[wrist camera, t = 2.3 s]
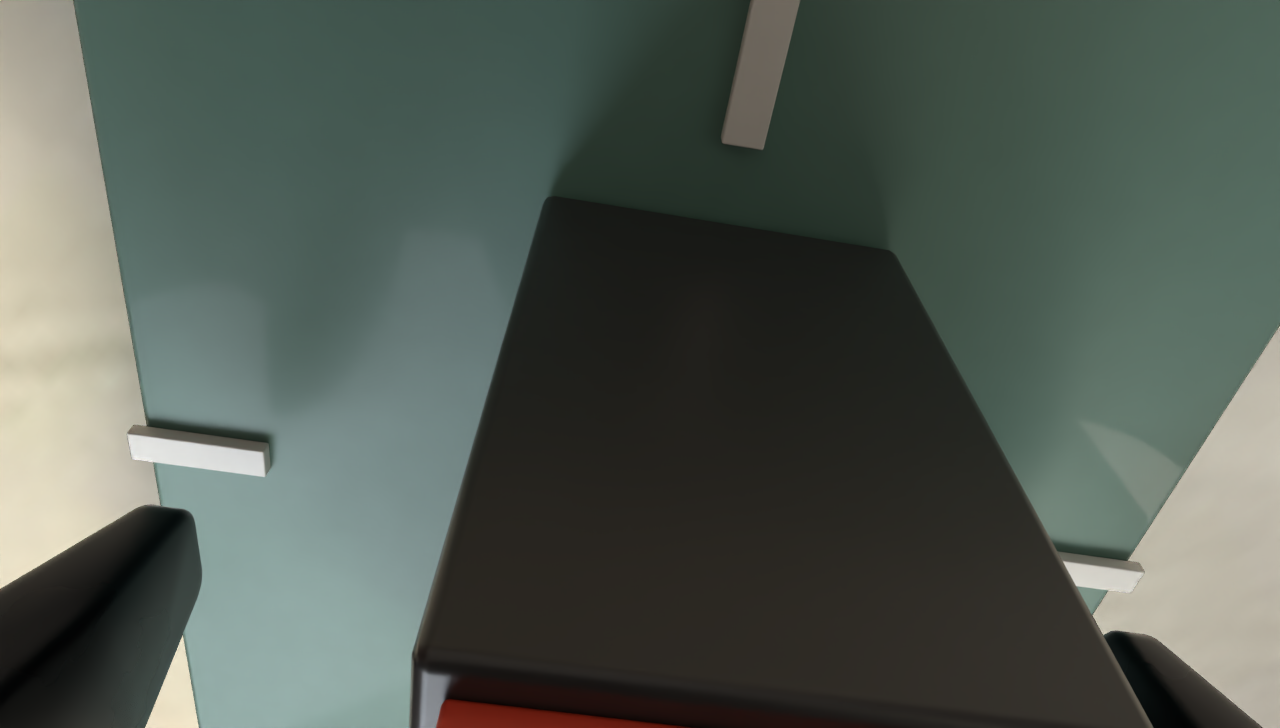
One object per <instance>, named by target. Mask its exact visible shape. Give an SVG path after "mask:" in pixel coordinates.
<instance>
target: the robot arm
mask: <svg viewBox="0 0 1280 728" xmlns="http://www.w3.org/2000/svg"><path fill="white" fill-rule="evenodd" d="M201 583H202V565H201V558H200V552H199V545H198V538H197V531H196V525H195V520H194V517H193V515H192V514H191V513H190V512H189V511H187V510H185V509H181V508H173V507H165V506H157V505H144V506H141V507H138V508H136V509H134V510H133V511H131V512H129V513H128V514H126V515H124V516H123V517H121V518H119V519H117V520H116V521H114V522H112V523H111V524H109V525H107V526H106V527H104V528H102V529H101V530H99V531H97V532H96V533H94V534H92V535H90V536H89V537H87V538H85V539H84V540H82V541H80V542H79V543H77V544H75V545H74V546H72V547H70V548H69V549H67V550H65V551H64V552H62V553H60V554H58V555H57V556H55V557H53V558H52V559H50V560H48V561H47V562H45V563H43V564H42V565H40V566H38V567H37V568H35V569H33V570H31V571H30V572H28V573H26V574H25V575H23V576H21V577H20V578H18V579H16V580H15V581H13V582H11V583H10V584H8V585H6V586H4V587H3V588H1V589H0V728H145V726H146V724H147V721H148V719H149V717H150V714H151V712H152V709H153V707H154V704H155V702H156V699H157V697H158V694H159V692H160V689H161V687H162V684H163V682H164V679H165V677H166V675H167V672H168V670H169V667H170V665H171V662H172V660H173V657H174V655H175V652H176V650H177V647H178V645H179V642H180V640H181V637H182V635H183V632H184V630H185V628H186V625H187V623H188V620H189V618H190V615H191V613H192V610H193V608H194V605H195V603H196V600H197V598H198V595H199V592H200V588H201ZM1103 636H1104V638H1105V640H1106V642H1107V643H1108V645H1109V647H1110V649H1111V651H1112V653H1113V654H1114V656H1115V658H1116V660H1117V662H1118V664H1119V665H1120V667H1121V669H1122V671H1123V673H1124V675H1125V676H1126V678H1127V680H1128V682H1129V684H1130V686H1131V687H1132V689H1133V691H1134V693H1135V695H1136V697H1137V698H1138V700H1139V702H1140V704H1141V706H1142V708H1143V709H1144V711H1145V713H1146V715H1147V717H1148V719H1149V720H1150V722H1151V724H1152V726H1153V728H1262V727H1261V726H1260V725H1259V724H1258V723H1256V722H1255V721H1254V720H1253V719H1252V718H1250V717H1249V716H1248V715H1247V714H1246V713H1244V712H1243V711H1242V710H1241V709H1240V708H1238V707H1237V706H1236V705H1235V704H1234V703H1232V702H1231V701H1230V700H1229V699H1228V698H1226V697H1225V696H1224V695H1223V694H1222V693H1221V692H1219V691H1218V690H1217V689H1216V688H1215V687H1213V686H1212V685H1211V684H1210V683H1209V682H1207V681H1206V680H1205V679H1204V678H1203V677H1201V676H1200V675H1199V674H1198V673H1197V672H1195V671H1194V670H1193V669H1192V668H1191V667H1189V666H1188V665H1187V664H1186V663H1185V662H1183V661H1182V660H1181V659H1180V658H1179V657H1177V656H1176V655H1175V654H1174V653H1173V652H1171V651H1170V650H1169V649H1168V648H1167V647H1165V646H1164V645H1163V644H1162V643H1161V642H1159V641H1158V640H1157V639H1155V638H1153V637H1151V636H1148V635H1145V634H1137V633H1130V632H1122V631H1110V632H1109V633H1107V634H1105V635H1103Z"/></svg>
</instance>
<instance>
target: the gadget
mask: <svg viewBox="0 0 1280 728" xmlns="http://www.w3.org/2000/svg"><path fill="white" fill-rule="evenodd" d="M409 728H1153V726H1152V724H1151V722H1150V720H1149V719H1148V717H1147V715H1146V713H1145V711H1144V709H1143V708H1142V706H1141V704H1140V702H1139V700H1138V698H1137V697H1136V695H1135V693H1134V691H1133V689H1132V687H1131V686H1130V684H1129V682H1128V680H1127V678H1126V676H1125V675H1124V673H1123V671H1122V669H1121V667H1120V665H1119V664H1118V662H1117V660H1116V658H1115V656H1114V654H1113V653H1112V651H1111V649H1110V647H1109V645H1108V643H1107V642H1106V640H1105V638H1104V636H1103V634H1102V632H1101V631H1100V629H1099V627H1098V625H1097V623H1096V621H1095V620H1094V618H1093V616H1092V614H1091V612H1090V610H1089V609H1088V607H1087V605H1086V603H1085V601H1084V599H1083V598H1082V596H1081V594H1080V592H1079V590H1078V588H1077V587H1076V585H1075V583H1074V581H1073V579H1072V577H1071V576H1070V574H1069V572H1068V570H1067V568H1066V566H1065V565H1064V563H1063V561H1062V559H1061V557H1060V555H1059V554H1058V552H1057V550H1056V548H1055V546H1054V544H1053V543H1052V541H1051V539H1050V537H1049V535H1048V533H1047V532H1046V530H1045V528H1044V526H1043V524H1042V522H1041V521H1040V519H1039V517H1038V515H1037V513H1036V511H1035V510H1034V508H1033V506H1032V504H1031V502H1030V500H1029V499H1028V497H1027V495H1026V493H1025V491H1024V489H1023V487H1022V486H1021V484H1020V482H1019V480H1018V478H1017V476H1016V475H1015V473H1014V471H1013V469H1012V467H1011V465H1010V464H1009V462H1008V460H1007V458H1006V456H1005V454H1004V453H1003V451H1002V449H1001V447H1000V445H999V443H998V442H997V440H996V438H995V436H994V434H993V432H992V431H991V429H990V427H989V425H988V423H987V421H986V420H985V418H984V416H983V414H982V412H981V410H980V409H979V407H978V405H977V403H976V401H975V399H974V398H973V396H972V394H971V392H970V390H969V388H968V387H967V385H966V383H965V381H964V379H963V377H962V376H961V374H960V372H959V370H958V368H957V366H956V365H955V363H954V361H953V359H952V357H951V355H950V354H949V352H948V350H947V348H946V346H945V344H944V343H943V341H942V339H941V337H940V335H939V333H938V332H937V330H936V328H935V326H934V324H933V322H932V321H931V319H930V317H929V315H928V313H927V311H926V310H925V308H924V306H923V304H922V302H921V300H920V299H919V297H918V295H917V293H916V291H915V289H914V288H913V286H912V284H911V282H910V280H909V278H908V277H907V275H906V273H905V271H904V269H903V267H902V266H901V264H900V262H899V260H898V258H897V256H896V254H894V253H893V252H891V251H890V250H885V249H879V248H872V247H866V246H860V245H854V244H848V243H841V242H835V241H829V240H823V239H817V238H811V237H804V236H798V235H792V234H786V233H780V232H773V231H767V230H761V229H755V228H749V227H743V226H736V225H730V224H724V223H718V222H712V221H706V220H699V219H693V218H687V217H681V216H675V215H668V214H662V213H656V212H650V211H644V210H638V209H631V208H625V207H619V206H613V205H607V204H600V203H594V202H588V201H582V200H576V199H570V198H563V197H557V196H551V197H547V198H546V200H545V201H544V203H543V205H542V209H541V212H540V216H539V219H538V222H537V226H536V229H535V233H534V236H533V240H532V243H531V246H530V250H529V253H528V257H527V260H526V264H525V267H524V270H523V274H522V277H521V281H520V284H519V288H518V291H517V294H516V298H515V301H514V305H513V308H512V312H511V315H510V318H509V322H508V325H507V329H506V332H505V336H504V339H503V342H502V346H501V349H500V353H499V356H498V360H497V363H496V366H495V370H494V373H493V377H492V380H491V384H490V387H489V391H488V394H487V397H486V401H485V404H484V408H483V411H482V415H481V418H480V421H479V425H478V428H477V432H476V435H475V439H474V442H473V445H472V449H471V452H470V456H469V459H468V463H467V466H466V469H465V473H464V476H463V480H462V483H461V487H460V490H459V493H458V497H457V500H456V504H455V507H454V511H453V514H452V517H451V521H450V524H449V528H448V531H447V535H446V538H445V541H444V545H443V548H442V552H441V555H440V559H439V562H438V566H437V569H436V572H435V576H434V579H433V583H432V586H431V590H430V593H429V596H428V600H427V603H426V607H425V610H424V614H423V617H422V620H421V624H420V627H419V631H418V634H417V638H416V641H415V644H414V648H413V651H412V657H411V685H410V712H409Z"/></svg>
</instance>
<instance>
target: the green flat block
mask: <svg viewBox="0 0 1280 728" xmlns="http://www.w3.org/2000/svg"><path fill="white" fill-rule="evenodd" d="M73 1H74V7H75V13H76V19H77V24H78V30H79V36H80V42H81V48H82V53H83V59H84V65H85V71H86V76H87V82H88V88H89V94H90V100H91V105H92V111H93V117H94V123H95V129H96V134H97V140H98V146H99V152H100V157H101V163H102V169H103V175H104V181H105V186H106V192H107V198H108V204H109V210H110V215H111V221H112V227H113V233H114V238H115V244H116V250H117V256H118V262H119V267H120V273H121V279H122V285H123V291H124V296H125V302H126V308H127V314H128V319H129V325H130V331H131V337H132V343H133V348H134V354H135V360H136V366H137V372H138V377H139V383H140V389H141V395H142V400H143V406H144V412H145V418H146V424H147V426H140V425H133V426H132V428H131V429H130V430H129V431H128V432H127V437H128V442H129V448H130V453H131V458H132V459H134V460H141V461H149V462H153V464H154V470H155V476H156V481H157V487H158V493H159V499H160V505H161V506H165V507H173V508H181V509H185V510H187V511H189V512H190V513H191V514H192V515H193V517H194V520H195V525H196V531H197V538H198V545H199V552H200V558H201V565H202V583H201V588H200V592H199V595H198V598H197V600H196V603H195V605H194V608H193V610H192V613H191V615H190V618H189V620H188V623H187V625H186V628H185V630H184V632H183V638H184V643H185V649H186V655H187V661H188V667H189V672H190V678H191V684H192V690H193V696H194V701H195V707H196V713H197V719H198V724H199V728H409V712H410V685H411V657H412V651H413V648H414V644H415V641H416V638H417V634H418V631H419V627H420V624H421V620H422V617H423V614H424V610H425V607H426V603H427V600H428V596H429V593H430V590H431V586H432V583H433V579H434V576H435V572H436V569H437V566H438V562H439V559H440V555H441V552H442V548H443V545H444V541H445V538H446V535H447V531H448V528H449V524H450V521H451V517H452V514H453V511H454V507H455V504H456V500H457V497H458V493H459V490H460V487H461V483H462V480H463V476H464V473H465V469H466V466H467V463H468V459H469V456H470V452H471V449H472V445H473V442H474V439H475V435H476V432H477V428H478V425H479V421H480V418H481V415H482V411H483V408H484V404H485V401H486V397H487V394H488V391H489V387H490V384H491V380H492V377H493V373H494V370H495V366H496V363H497V360H498V356H499V353H500V349H501V346H502V342H503V339H504V336H505V332H506V329H507V325H508V322H509V318H510V315H511V312H512V308H513V305H514V301H515V298H516V294H517V291H518V288H519V284H520V281H521V277H522V274H523V270H524V267H525V264H526V260H527V257H528V253H529V250H530V246H531V243H532V240H533V236H534V233H535V229H536V226H537V222H538V219H539V216H540V212H541V209H542V205H543V203H544V201H545V200H546V198H547V197H551V196H557V197H563V198H570V199H576V200H582V201H588V202H594V203H600V204H607V205H613V206H619V207H625V208H631V209H638V210H644V211H650V212H656V213H662V214H668V215H675V216H681V217H687V218H693V219H699V220H706V221H712V222H718V223H724V224H730V225H736V226H743V227H749V228H755V229H761V230H767V231H773V232H780V233H786V234H792V235H798V236H804V237H811V238H817V239H823V240H829V241H835V242H841V243H848V244H854V245H860V246H866V247H872V248H879V249H885V250H890V251H891V252H893V253H894V254H896V256H897V258H898V260H899V262H900V264H901V266H902V267H903V269H904V271H905V273H906V275H907V277H908V278H909V280H910V282H911V284H912V286H913V288H914V289H915V291H916V293H917V295H918V297H919V299H920V300H921V302H922V304H923V306H924V308H925V310H926V311H927V313H928V315H929V317H930V319H931V321H932V322H933V324H934V326H935V328H936V330H937V332H938V333H939V335H940V337H941V339H942V341H943V343H944V344H945V346H946V348H947V350H948V352H949V354H950V355H951V357H952V359H953V361H954V363H955V365H956V366H957V368H958V370H959V372H960V374H961V376H962V377H963V379H964V381H965V383H966V385H967V387H968V388H969V390H970V392H971V394H972V396H973V398H974V399H975V401H976V403H977V405H978V407H979V409H980V410H981V412H982V414H983V416H984V418H985V420H986V421H987V423H988V425H989V427H990V429H991V431H992V432H993V434H994V436H995V438H996V440H997V442H998V443H999V445H1000V447H1001V449H1002V451H1003V453H1004V454H1005V456H1006V458H1007V460H1008V462H1009V464H1010V465H1011V467H1012V469H1013V471H1014V473H1015V475H1016V476H1017V478H1018V480H1019V482H1020V484H1021V486H1022V487H1023V489H1024V491H1025V493H1026V495H1027V497H1028V499H1029V500H1030V502H1031V504H1032V506H1033V508H1034V510H1035V511H1036V513H1037V515H1038V517H1039V519H1040V521H1041V522H1042V524H1043V526H1044V528H1045V530H1046V532H1047V533H1048V535H1049V537H1050V539H1051V541H1052V543H1053V544H1054V546H1055V548H1056V550H1057V552H1058V554H1059V555H1060V557H1061V559H1062V561H1063V563H1064V565H1065V566H1066V568H1067V570H1068V572H1069V574H1070V576H1071V577H1072V579H1073V581H1074V583H1075V585H1076V587H1077V588H1078V590H1079V592H1080V594H1081V596H1082V598H1083V599H1084V601H1085V603H1086V605H1087V607H1088V609H1089V610H1090V612H1091V614H1092V615H1093V613H1094V612H1095V610H1096V609H1097V607H1098V606H1099V604H1100V602H1101V601H1102V599H1103V598H1104V596H1105V595H1106V593H1107V592H1108V590H1109V591H1117V592H1124V593H1131V592H1132V591H1133V589H1134V588H1135V586H1136V585H1137V583H1138V582H1139V580H1140V579H1141V577H1142V576H1143V574H1144V573H1145V571H1144V570H1143V568H1142V567H1141V565H1140V563H1138V562H1131V561H1128V559H1129V558H1130V556H1131V554H1132V553H1133V551H1134V550H1135V548H1136V547H1137V545H1138V544H1139V542H1140V541H1141V539H1142V537H1143V536H1144V534H1145V533H1146V531H1147V530H1148V528H1149V527H1150V525H1151V524H1152V522H1153V520H1154V519H1155V517H1156V516H1157V514H1158V513H1159V511H1160V510H1161V508H1162V507H1163V505H1164V503H1165V502H1166V500H1167V499H1168V497H1169V496H1170V494H1171V493H1172V491H1173V490H1174V488H1175V486H1176V485H1177V483H1178V482H1179V480H1180V479H1181V477H1182V476H1183V474H1184V473H1185V471H1186V469H1187V468H1188V466H1189V465H1190V463H1191V462H1192V460H1193V459H1194V457H1195V456H1196V454H1197V452H1198V451H1199V449H1200V448H1201V446H1202V445H1203V443H1204V442H1205V440H1206V439H1207V437H1208V435H1209V434H1210V432H1211V431H1212V429H1213V428H1214V426H1215V425H1216V423H1217V422H1218V420H1219V418H1220V417H1221V415H1222V414H1223V412H1224V411H1225V409H1226V408H1227V406H1228V405H1229V403H1230V401H1231V400H1232V398H1233V397H1234V395H1235V394H1236V392H1237V391H1238V389H1239V388H1240V386H1241V384H1242V383H1243V381H1244V380H1245V378H1246V377H1247V375H1248V374H1249V372H1250V371H1251V369H1252V367H1253V366H1254V364H1255V363H1256V361H1257V360H1258V358H1259V357H1260V355H1261V354H1262V352H1263V350H1264V349H1265V347H1266V346H1267V344H1268V343H1269V341H1270V340H1271V338H1272V337H1273V335H1274V333H1275V332H1276V330H1277V329H1278V327H1279V326H1280V0H73Z"/></svg>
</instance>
